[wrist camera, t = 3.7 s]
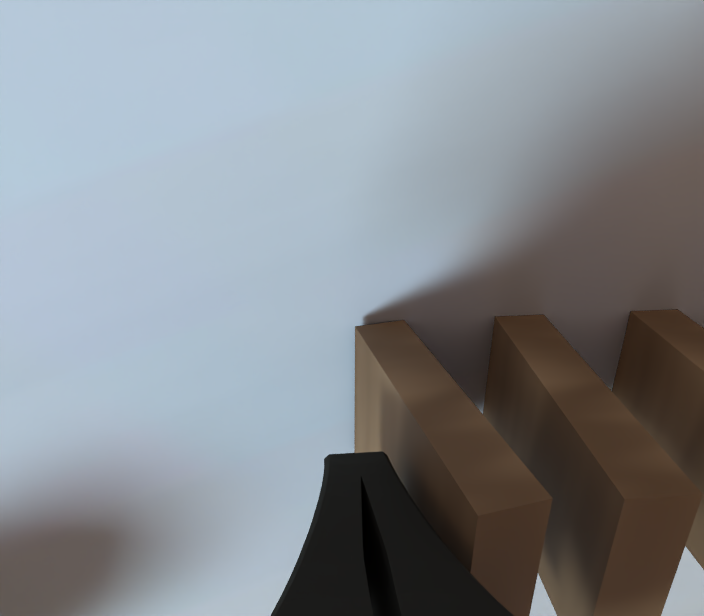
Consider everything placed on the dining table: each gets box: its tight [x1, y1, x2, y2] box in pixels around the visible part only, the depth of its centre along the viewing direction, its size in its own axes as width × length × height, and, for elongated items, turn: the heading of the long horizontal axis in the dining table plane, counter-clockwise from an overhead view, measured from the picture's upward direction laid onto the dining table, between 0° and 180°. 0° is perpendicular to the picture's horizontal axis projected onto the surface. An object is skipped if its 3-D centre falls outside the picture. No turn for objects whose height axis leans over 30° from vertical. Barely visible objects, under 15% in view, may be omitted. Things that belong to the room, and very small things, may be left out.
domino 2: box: [483, 315, 703, 616], centre depth 14 cm, size 1×4×7 cm, turn 0°
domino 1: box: [355, 320, 553, 616], centre depth 14 cm, size 1×4×7 cm, turn 0°
